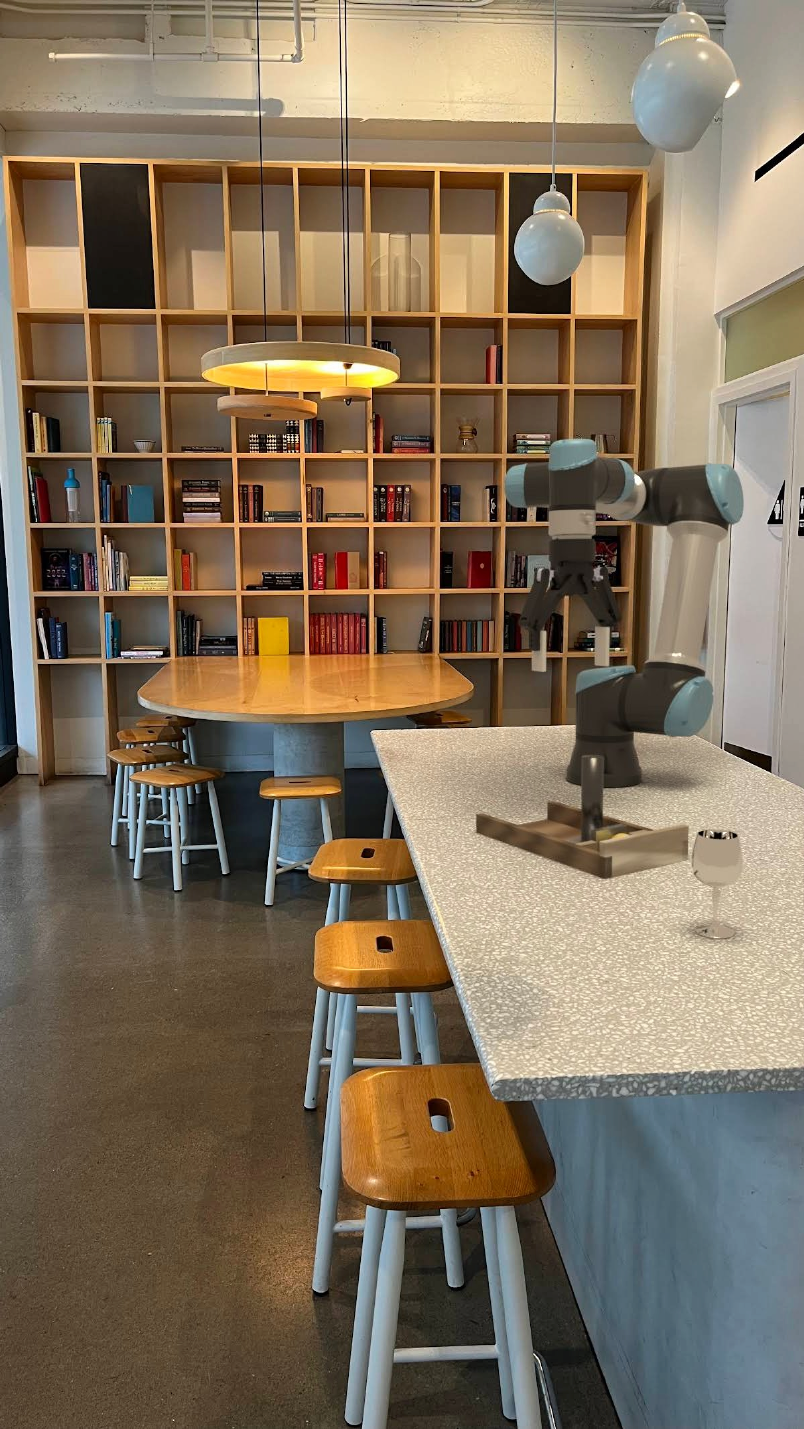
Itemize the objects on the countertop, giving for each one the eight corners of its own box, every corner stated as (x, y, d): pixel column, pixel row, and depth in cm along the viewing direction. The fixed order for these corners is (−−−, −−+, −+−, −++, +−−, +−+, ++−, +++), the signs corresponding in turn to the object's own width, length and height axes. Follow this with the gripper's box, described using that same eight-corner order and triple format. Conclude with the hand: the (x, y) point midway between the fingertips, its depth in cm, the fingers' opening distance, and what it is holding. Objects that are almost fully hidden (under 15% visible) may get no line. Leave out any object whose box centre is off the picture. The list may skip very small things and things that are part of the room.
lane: (476, 839, 165) (476, 802, 164) (552, 825, 173) (553, 789, 172) (605, 887, 139) (605, 843, 139) (687, 867, 148) (688, 826, 147)
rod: (555, 848, 153) (556, 757, 151) (600, 839, 158) (601, 750, 156) (588, 859, 147) (589, 764, 145) (633, 850, 152) (635, 757, 150)
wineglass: (682, 924, 125) (685, 829, 123) (728, 922, 125) (731, 827, 123) (700, 941, 119) (703, 841, 117) (748, 939, 119) (751, 840, 118)
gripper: (526, 537, 156) (525, 675, 159) (644, 537, 169) (642, 665, 172) (496, 538, 162) (496, 671, 165) (612, 538, 175) (611, 661, 178)
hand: (571, 668), depth 169 cm, fingers open, 13 cm apart
